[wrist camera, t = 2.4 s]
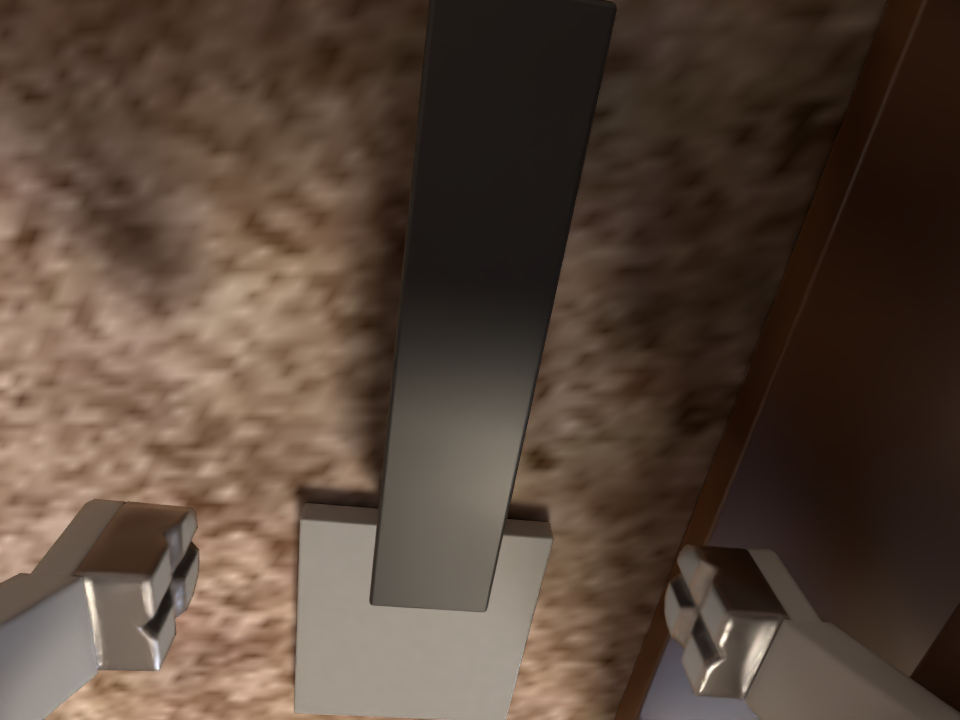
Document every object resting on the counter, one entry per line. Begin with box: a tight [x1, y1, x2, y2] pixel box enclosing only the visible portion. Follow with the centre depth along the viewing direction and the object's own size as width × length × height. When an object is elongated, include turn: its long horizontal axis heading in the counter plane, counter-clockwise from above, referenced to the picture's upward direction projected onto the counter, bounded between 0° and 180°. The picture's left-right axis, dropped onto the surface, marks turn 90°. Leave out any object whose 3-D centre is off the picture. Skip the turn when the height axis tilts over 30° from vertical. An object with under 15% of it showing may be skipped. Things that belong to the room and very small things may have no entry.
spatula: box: [294, 0, 617, 720], centre depth 13 cm, size 18×6×3 cm, turn 171°
